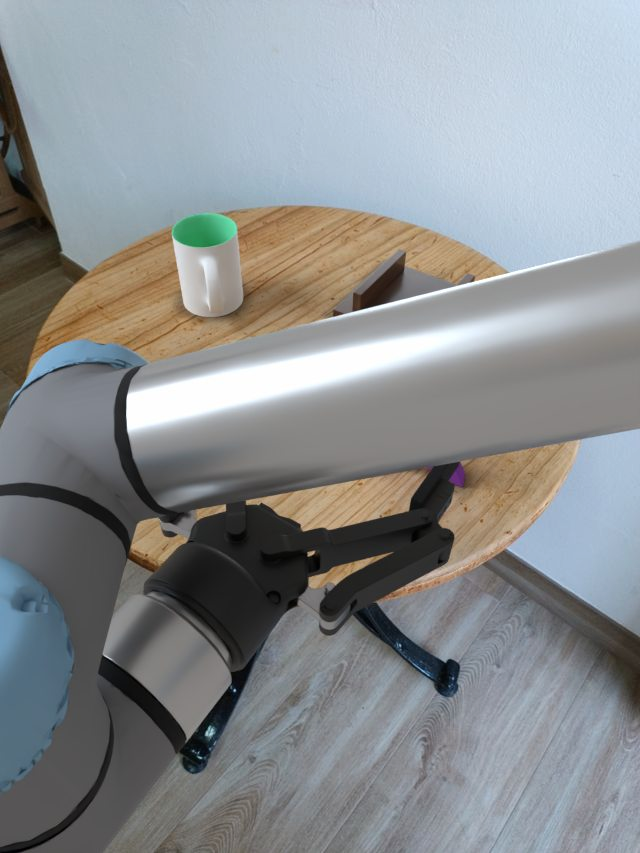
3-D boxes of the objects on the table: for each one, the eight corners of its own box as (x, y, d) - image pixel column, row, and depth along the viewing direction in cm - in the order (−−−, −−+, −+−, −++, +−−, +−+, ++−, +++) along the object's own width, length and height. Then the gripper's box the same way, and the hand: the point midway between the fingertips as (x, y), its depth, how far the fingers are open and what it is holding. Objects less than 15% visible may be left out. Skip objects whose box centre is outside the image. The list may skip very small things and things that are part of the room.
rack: (489, 303, 92) (495, 277, 89) (442, 361, 84) (447, 334, 81) (385, 266, 98) (387, 240, 95) (332, 316, 90) (333, 289, 87)
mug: (254, 329, 88) (249, 260, 81) (192, 340, 87) (180, 270, 79) (237, 277, 96) (230, 209, 89) (179, 286, 95) (167, 217, 87)
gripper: (53, 564, 47) (245, 385, 59) (370, 785, 37) (520, 518, 50) (19, 496, 41) (238, 315, 53) (381, 735, 32) (546, 449, 44)
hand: (374, 412), depth 51 cm, fingers open, 13 cm apart
